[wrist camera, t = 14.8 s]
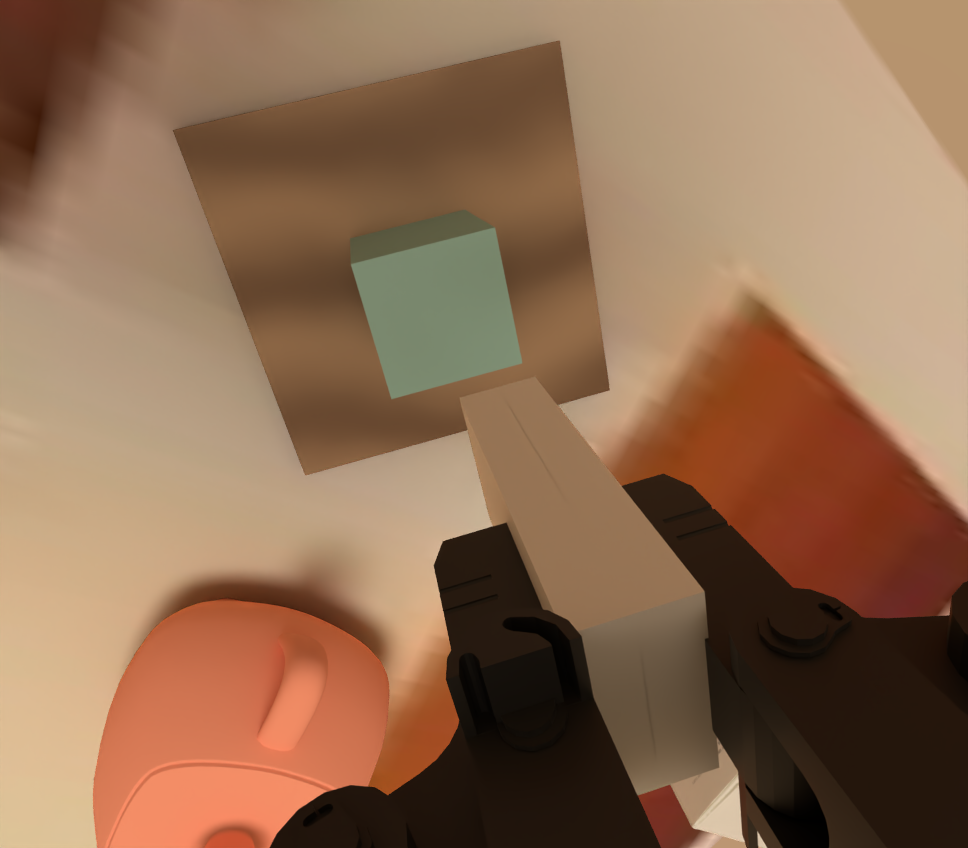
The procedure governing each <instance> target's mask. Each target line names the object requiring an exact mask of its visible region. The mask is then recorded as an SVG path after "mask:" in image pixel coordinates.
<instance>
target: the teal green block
mask: <svg viewBox="0 0 968 848" xmlns="http://www.w3.org/2000/svg"><path fill="white" fill-rule="evenodd" d="M350 254H351V267H352V270H353V273H354V277H355V280H356V283H357V287H358V290H359V293H360V296H361V300H362V303H363V306H364V310H365V313H366V316H367V320H368V323H369V326H370V330H371V333H372V336H373V340H374V343H375V346H376V350H377V353H378V356H379V359H380V363H381V366H382V369H383V373H384V376H385V379H386V383H387V386H388V389H389V393H390V396H391V399H394V398H398V397H401V396H405V395H409V394H412V393H416V392H420V391H423V390H427V389H431V388H434V387H438V386H442V385H445V384H449V383H453V382H456V381H460V380H463V379H467V378H471V377H474V376H478V375H482V374H485V373H489V372H493V371H496V370H500V369H504V368H507V367H511V366H514V365H518V364H522V358H521V353H520V348H519V344H518V339H517V334H516V329H515V324H514V319H513V314H512V309H511V304H510V299H509V294H508V289H507V284H506V279H505V274H504V269H503V264H502V260H501V255H500V250H499V245H498V240H497V235H496V230H495V227H494V226H492V225H490V224H488V223H487V222H485V221H483V220H482V219H480V218H478V217H477V216H475V215H473V214H472V213H470V212H468V211H466V210H461V211H457V212H453V213H449V214H445V215H441V216H437V217H433V218H429V219H425V220H421V221H417V222H413V223H409V224H406V225H402V226H398V227H394V228H390V229H386V230H382V231H378V232H374V233H370V234H366V235H362V236H358V237H354V238H350Z"/></svg>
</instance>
